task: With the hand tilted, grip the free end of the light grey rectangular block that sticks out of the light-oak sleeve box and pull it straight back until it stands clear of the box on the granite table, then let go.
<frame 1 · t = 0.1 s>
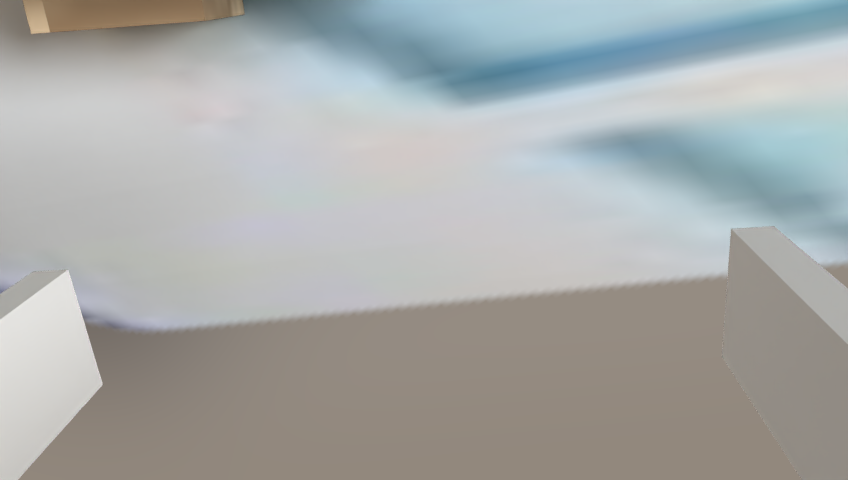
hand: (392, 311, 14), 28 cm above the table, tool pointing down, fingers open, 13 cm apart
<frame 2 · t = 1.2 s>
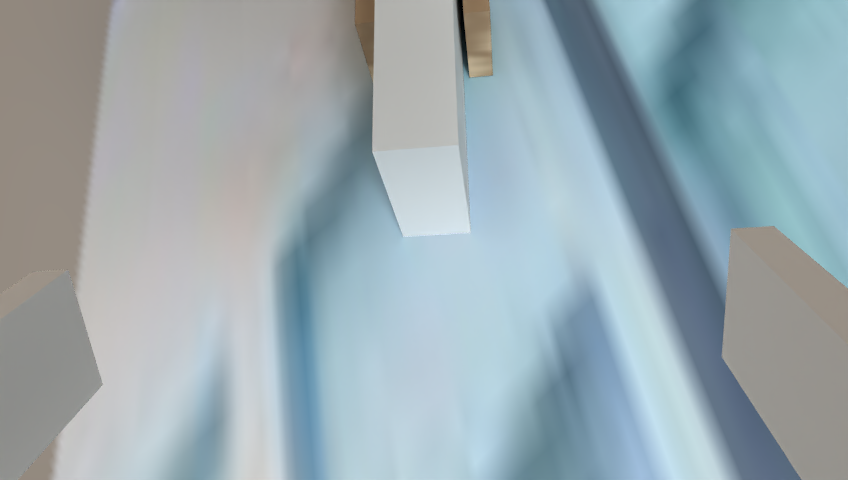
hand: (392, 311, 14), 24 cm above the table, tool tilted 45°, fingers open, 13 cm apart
sleeve box: (431, 31, 47), on the table
light grey rectangular block: (433, 107, 44), on the table
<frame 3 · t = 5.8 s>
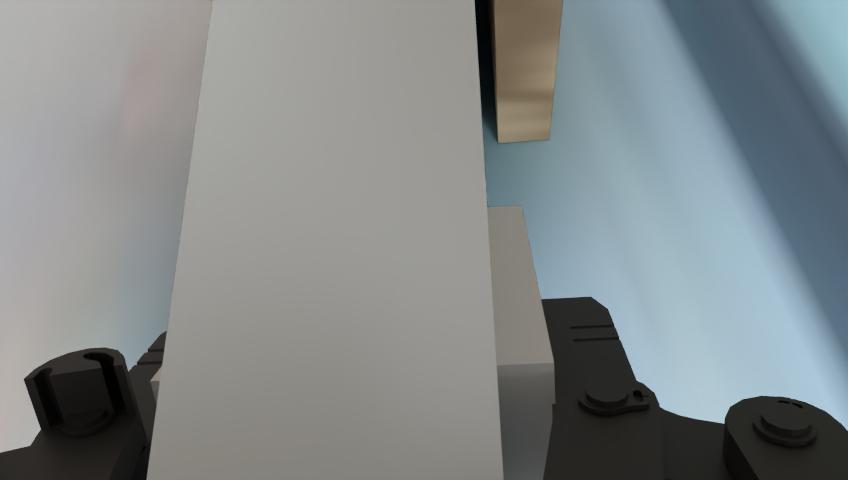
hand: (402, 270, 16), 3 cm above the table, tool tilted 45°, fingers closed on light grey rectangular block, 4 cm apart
sleeve box: (416, 43, 22), on the table
light grey rectangular block: (418, 208, 20), on the table, touching gripper
when the fingers open (3 cm above the table, at t = 9.1 s): light grey rectangular block stays where it is, on the table.
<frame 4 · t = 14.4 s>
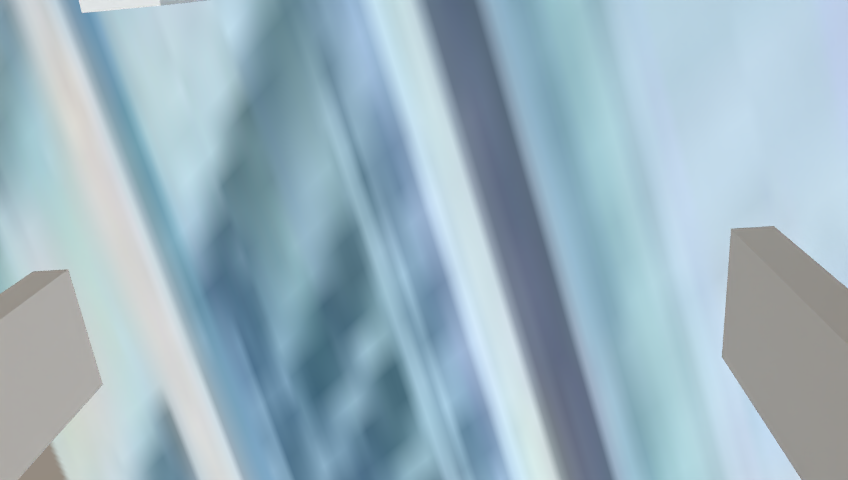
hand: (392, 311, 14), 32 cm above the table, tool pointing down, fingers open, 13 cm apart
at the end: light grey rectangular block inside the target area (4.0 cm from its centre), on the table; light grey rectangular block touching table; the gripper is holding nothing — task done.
